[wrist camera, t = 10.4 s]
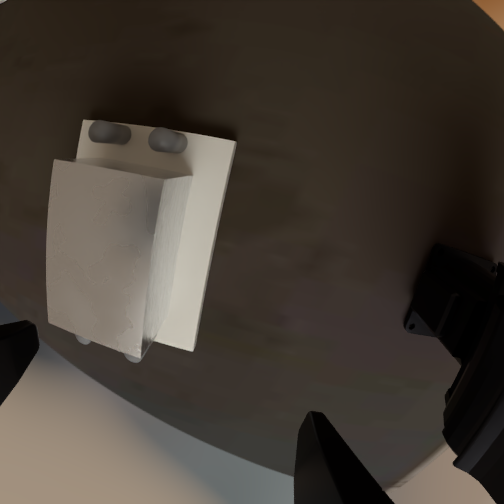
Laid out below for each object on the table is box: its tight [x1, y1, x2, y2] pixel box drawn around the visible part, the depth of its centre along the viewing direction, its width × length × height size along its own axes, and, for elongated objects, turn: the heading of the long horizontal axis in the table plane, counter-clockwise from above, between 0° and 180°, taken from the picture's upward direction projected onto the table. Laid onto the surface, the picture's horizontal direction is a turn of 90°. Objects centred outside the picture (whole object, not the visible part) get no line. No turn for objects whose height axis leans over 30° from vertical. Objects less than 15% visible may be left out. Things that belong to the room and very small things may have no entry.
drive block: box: [46, 158, 193, 358], centre depth 16 cm, size 6×9×5 cm, turn 166°
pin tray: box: [75, 120, 237, 363], centre depth 17 cm, size 10×14×4 cm
